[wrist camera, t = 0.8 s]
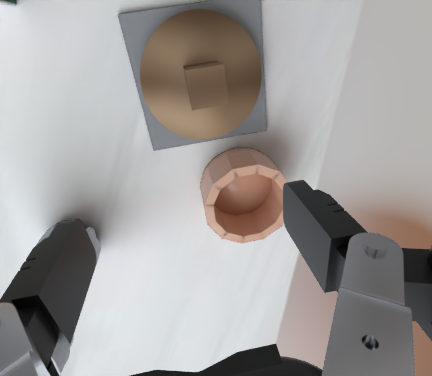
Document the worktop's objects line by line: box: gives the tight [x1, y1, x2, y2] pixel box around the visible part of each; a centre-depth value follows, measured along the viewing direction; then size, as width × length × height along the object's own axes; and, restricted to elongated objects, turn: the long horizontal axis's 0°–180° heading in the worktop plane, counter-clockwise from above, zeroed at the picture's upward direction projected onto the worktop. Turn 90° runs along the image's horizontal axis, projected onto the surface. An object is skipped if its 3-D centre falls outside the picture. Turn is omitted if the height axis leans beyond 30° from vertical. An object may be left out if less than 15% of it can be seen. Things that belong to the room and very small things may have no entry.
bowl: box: [200, 148, 288, 243], centre depth 30 cm, size 9×9×5 cm
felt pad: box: [118, 0, 267, 151], centre depth 26 cm, size 12×12×1 cm
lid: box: [140, 9, 262, 140], centre depth 24 cm, size 11×11×5 cm
